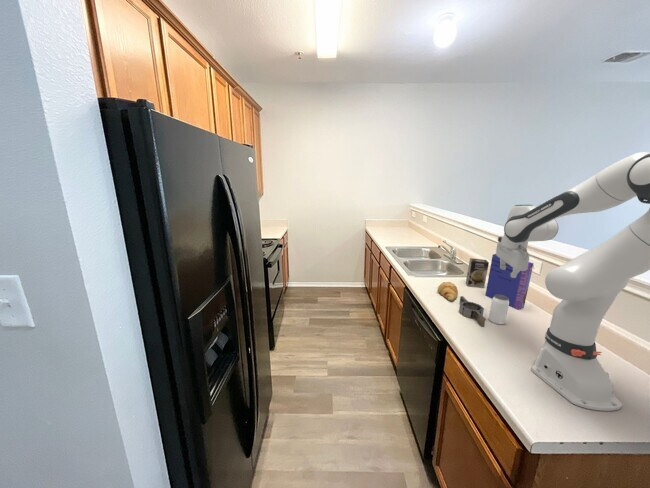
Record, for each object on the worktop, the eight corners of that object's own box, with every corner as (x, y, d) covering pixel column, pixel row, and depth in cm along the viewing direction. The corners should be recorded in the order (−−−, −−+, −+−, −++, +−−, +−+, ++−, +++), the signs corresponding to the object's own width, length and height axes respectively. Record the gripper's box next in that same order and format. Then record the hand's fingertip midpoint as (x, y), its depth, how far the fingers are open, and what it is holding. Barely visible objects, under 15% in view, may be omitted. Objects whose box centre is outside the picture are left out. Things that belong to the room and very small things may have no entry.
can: (488, 322, 122) (493, 298, 119) (488, 316, 128) (492, 292, 125) (505, 326, 119) (511, 301, 116) (504, 319, 125) (509, 295, 122)
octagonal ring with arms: (493, 327, 119) (495, 319, 118) (471, 326, 119) (473, 318, 118) (475, 309, 134) (477, 302, 133) (456, 308, 135) (457, 301, 134)
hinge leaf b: (485, 319, 125) (487, 311, 124) (464, 318, 126) (466, 310, 125) (469, 303, 140) (471, 296, 139) (451, 302, 141) (452, 295, 140)
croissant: (456, 309, 142) (466, 297, 139) (439, 299, 142) (448, 287, 139) (447, 291, 162) (456, 281, 159) (432, 283, 162) (441, 272, 159)
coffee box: (467, 286, 162) (471, 260, 158) (465, 282, 168) (469, 257, 164) (484, 288, 160) (489, 262, 156) (481, 284, 166) (486, 259, 161)
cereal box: (523, 308, 137) (533, 262, 131) (517, 309, 135) (527, 264, 129) (491, 294, 152) (498, 253, 146) (485, 295, 150) (492, 254, 144)
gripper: (537, 250, 104) (528, 283, 108) (511, 237, 123) (504, 265, 127) (519, 249, 105) (511, 282, 109) (496, 236, 124) (490, 264, 128)
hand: (507, 273), depth 118 cm, fingers open, 8 cm apart
